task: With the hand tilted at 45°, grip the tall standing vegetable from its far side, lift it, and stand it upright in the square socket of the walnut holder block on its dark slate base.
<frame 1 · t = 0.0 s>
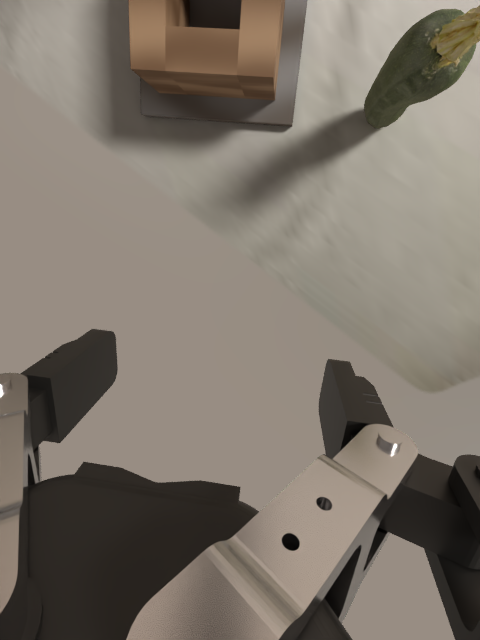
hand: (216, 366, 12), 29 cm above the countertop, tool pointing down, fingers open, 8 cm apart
vegetable: (373, 110, 34), on the countertop
holder: (221, 27, 33), on the countertop
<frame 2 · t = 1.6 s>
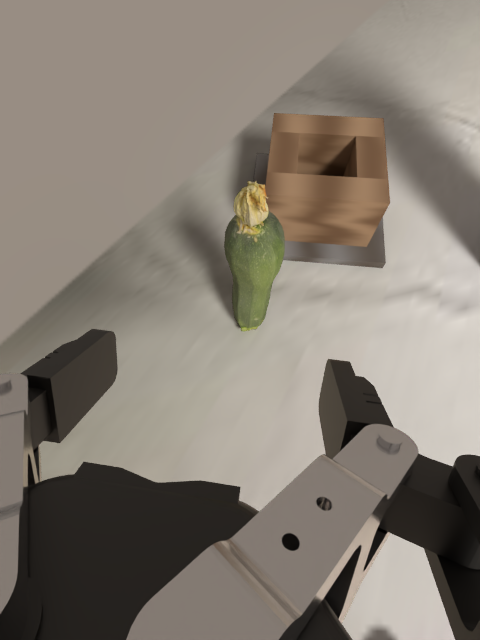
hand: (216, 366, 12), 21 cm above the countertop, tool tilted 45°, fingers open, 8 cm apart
vegetable: (253, 320, 36), on the countertop
holder: (314, 208, 42), on the countertop
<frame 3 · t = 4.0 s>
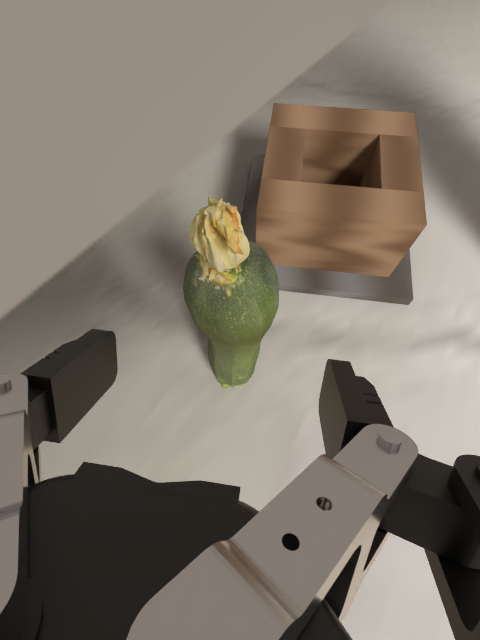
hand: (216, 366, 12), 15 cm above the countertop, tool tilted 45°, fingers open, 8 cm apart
vegetable: (239, 370, 28), on the countertop
holder: (321, 225, 33), on the countertop
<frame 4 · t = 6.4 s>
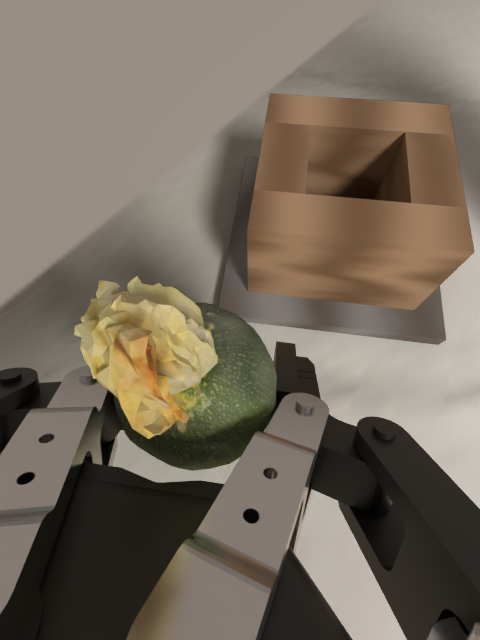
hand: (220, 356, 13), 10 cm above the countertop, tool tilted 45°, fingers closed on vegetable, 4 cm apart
vegetable: (227, 432, 22), on the countertop, touching gripper
holder: (328, 242, 28), on the countertop
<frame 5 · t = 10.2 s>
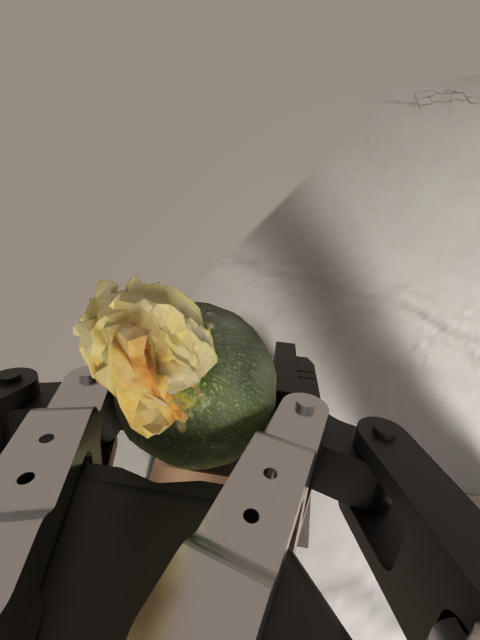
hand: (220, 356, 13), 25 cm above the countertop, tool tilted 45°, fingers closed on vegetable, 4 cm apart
vegetable: (228, 432, 22), point 15 cm above the countertop, touching gripper
holder: (235, 443, 35), on the countertop
when the fingers open (12 cm above the countertop, at t = 13.9 s): vegetable drops 1 cm, resting on holder.
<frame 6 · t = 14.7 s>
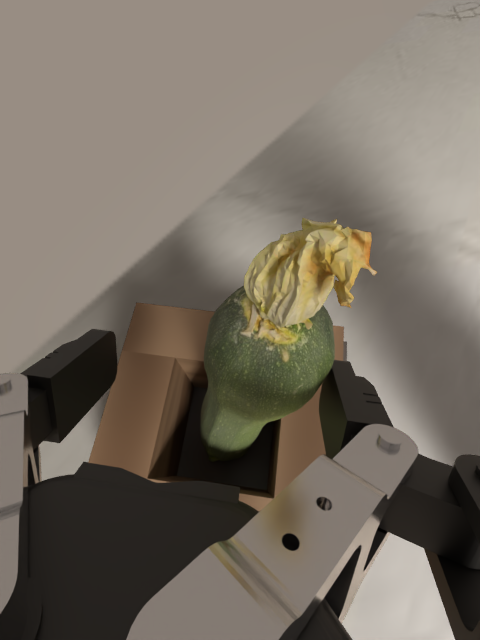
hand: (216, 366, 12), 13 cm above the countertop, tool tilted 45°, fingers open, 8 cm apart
vegetable: (229, 438, 23), point 1 cm above the countertop, touching gripper, holder
holder: (229, 436, 24), on the countertop
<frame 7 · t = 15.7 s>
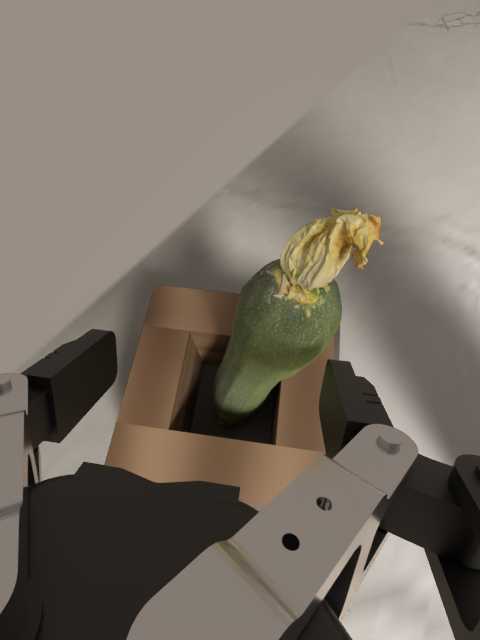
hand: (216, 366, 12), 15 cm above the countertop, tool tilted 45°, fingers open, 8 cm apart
vegetable: (234, 408, 26), point 1 cm above the countertop, touching holder
holder: (234, 407, 27), on the countertop
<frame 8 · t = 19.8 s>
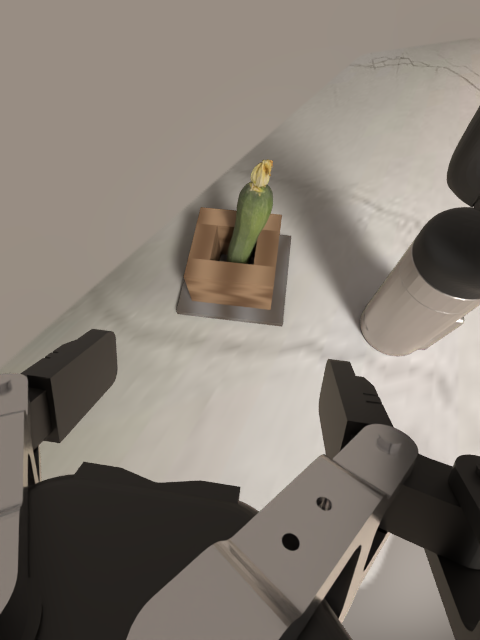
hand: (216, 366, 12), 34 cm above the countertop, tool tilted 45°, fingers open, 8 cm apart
vegetable: (237, 273, 52), point 1 cm above the countertop, touching holder
holder: (236, 275, 53), on the countertop
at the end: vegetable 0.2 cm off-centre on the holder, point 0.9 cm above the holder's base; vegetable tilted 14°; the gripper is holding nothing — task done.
